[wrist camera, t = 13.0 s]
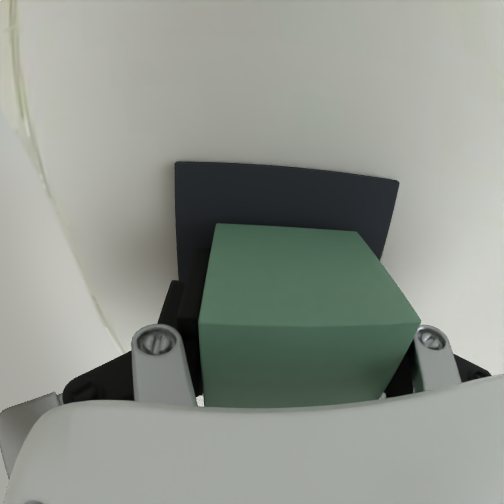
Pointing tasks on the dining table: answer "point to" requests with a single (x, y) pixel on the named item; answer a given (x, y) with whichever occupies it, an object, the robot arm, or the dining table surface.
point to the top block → (298, 319)
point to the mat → (277, 202)
